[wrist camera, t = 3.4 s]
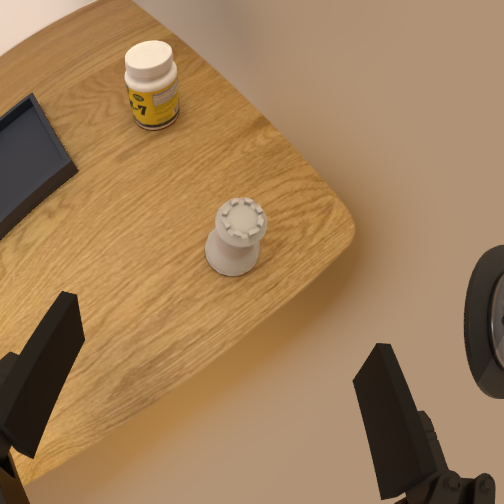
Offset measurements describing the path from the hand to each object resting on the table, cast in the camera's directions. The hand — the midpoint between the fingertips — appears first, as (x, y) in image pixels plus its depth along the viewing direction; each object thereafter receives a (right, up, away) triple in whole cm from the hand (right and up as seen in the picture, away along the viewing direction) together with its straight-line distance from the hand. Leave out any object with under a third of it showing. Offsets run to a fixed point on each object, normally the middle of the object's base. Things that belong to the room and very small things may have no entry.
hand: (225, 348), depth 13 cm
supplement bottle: (-9, +18, +16) cm, 26 cm away
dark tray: (-25, +13, +12) cm, 30 cm away
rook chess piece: (-1, +4, +14) cm, 15 cm away
